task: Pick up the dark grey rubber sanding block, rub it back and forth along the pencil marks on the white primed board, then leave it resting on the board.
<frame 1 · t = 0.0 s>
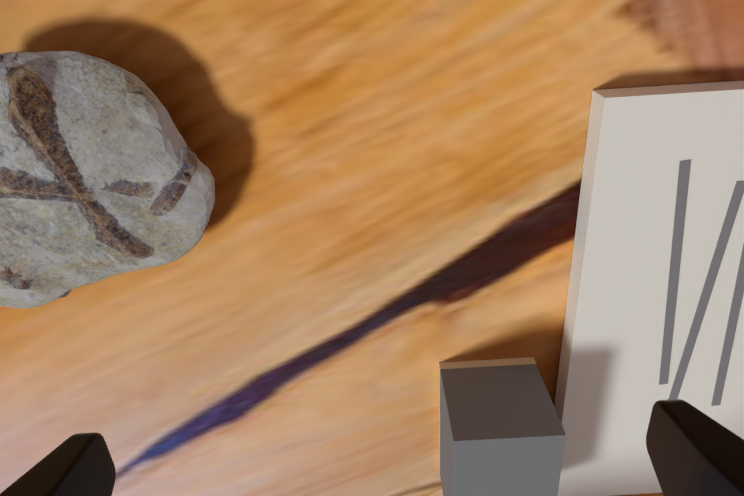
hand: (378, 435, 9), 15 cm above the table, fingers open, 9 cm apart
stone: (67, 171, 23), on the table
board: (685, 314, 26), on the table
sanding block: (483, 413, 29), on the table
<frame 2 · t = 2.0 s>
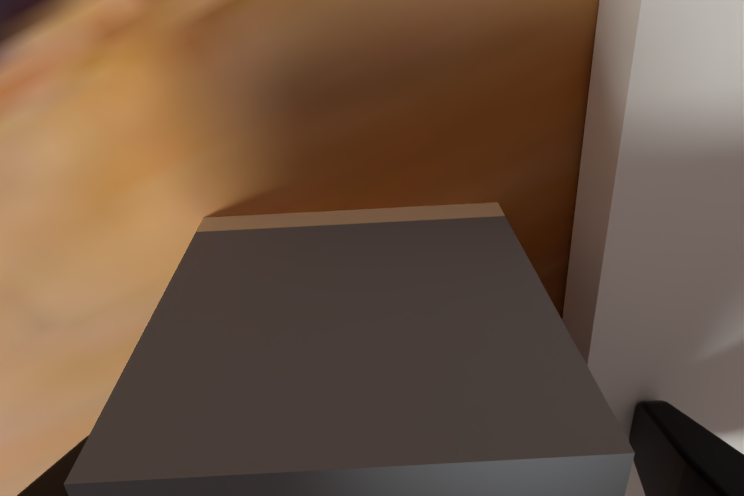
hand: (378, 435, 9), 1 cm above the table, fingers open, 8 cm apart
sanding block: (362, 381, 11), on the table
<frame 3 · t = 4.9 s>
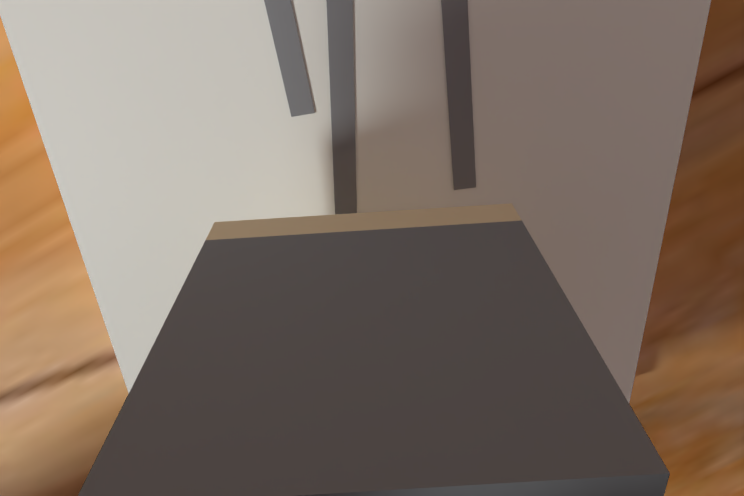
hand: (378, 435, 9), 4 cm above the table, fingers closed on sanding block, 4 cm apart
sanding block: (375, 389, 10), point 3 cm above the table, touching gripper
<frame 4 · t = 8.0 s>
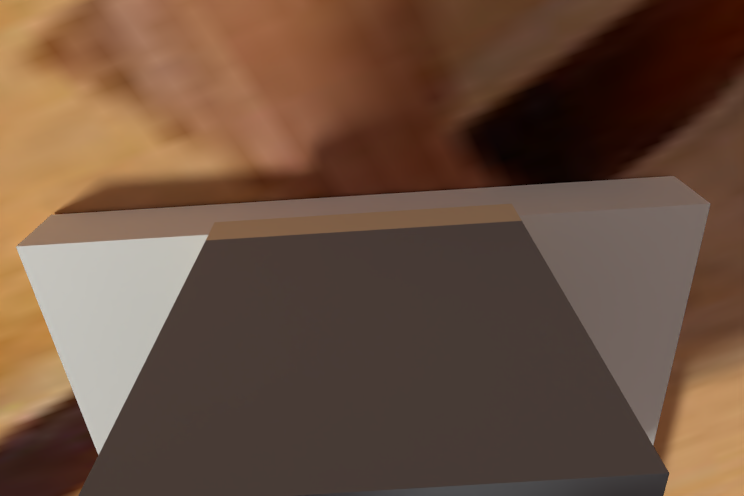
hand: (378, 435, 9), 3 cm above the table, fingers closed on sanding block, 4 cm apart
sanding block: (375, 389, 10), point 1 cm above the table, touching gripper
when the fingers open (2 cm above the table, at t = 13.4 s): sanding block stays where it is, resting on board.
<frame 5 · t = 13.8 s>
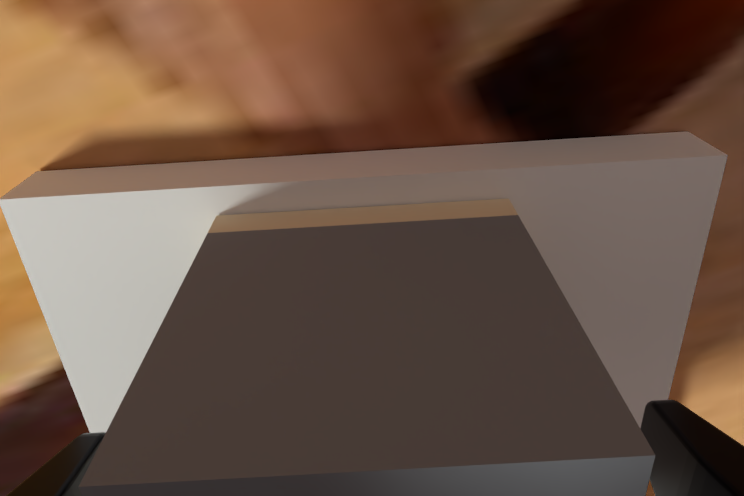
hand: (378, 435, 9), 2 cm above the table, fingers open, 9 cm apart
sanding block: (374, 382, 11), point 1 cm above the table, touching board
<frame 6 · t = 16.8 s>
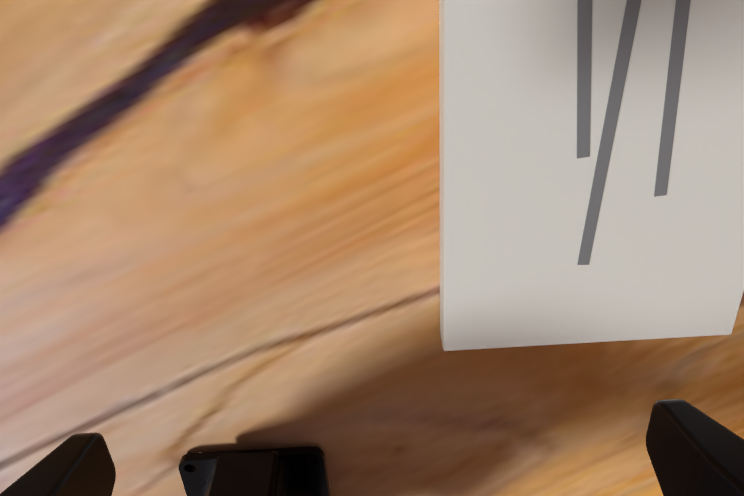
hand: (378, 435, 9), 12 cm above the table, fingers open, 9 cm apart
board: (613, 53, 18), on the table
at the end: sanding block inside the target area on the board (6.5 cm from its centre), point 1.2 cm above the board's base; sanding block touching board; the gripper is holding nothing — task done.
